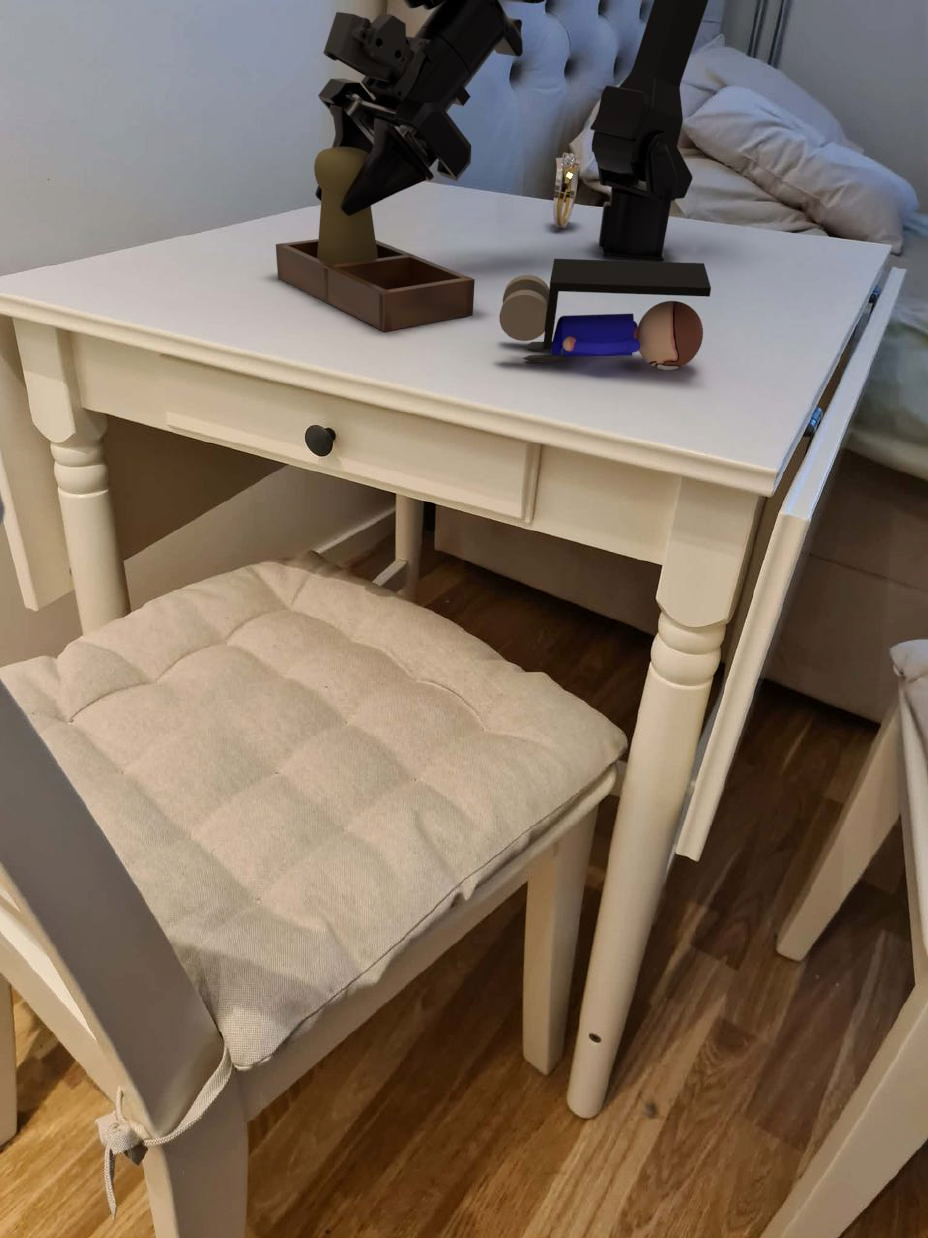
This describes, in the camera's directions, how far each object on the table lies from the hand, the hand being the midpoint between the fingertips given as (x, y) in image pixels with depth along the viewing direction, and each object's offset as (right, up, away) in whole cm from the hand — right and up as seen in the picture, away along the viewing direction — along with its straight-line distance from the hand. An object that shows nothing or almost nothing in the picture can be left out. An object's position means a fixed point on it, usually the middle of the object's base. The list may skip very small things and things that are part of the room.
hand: (331, 205), depth 77 cm
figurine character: (+22, -16, -9) cm, 29 cm away
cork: (+1, -5, +5) cm, 7 cm away
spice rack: (+3, -7, +2) cm, 8 cm away
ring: (+23, +10, +28) cm, 38 cm away
